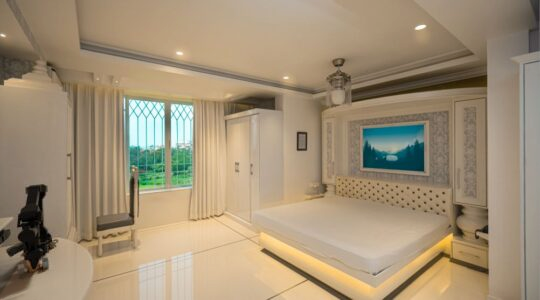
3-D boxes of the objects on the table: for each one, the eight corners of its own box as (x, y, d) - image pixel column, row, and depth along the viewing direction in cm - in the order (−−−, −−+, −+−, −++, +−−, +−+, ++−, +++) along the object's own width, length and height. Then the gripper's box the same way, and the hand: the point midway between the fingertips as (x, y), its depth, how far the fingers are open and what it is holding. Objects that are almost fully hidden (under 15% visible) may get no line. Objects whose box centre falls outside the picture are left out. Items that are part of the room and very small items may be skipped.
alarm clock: (21, 247, 141) (54, 234, 153) (24, 254, 142) (56, 241, 154) (26, 251, 134) (60, 237, 146) (29, 259, 135) (62, 245, 147)
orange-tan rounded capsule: (27, 270, 118) (26, 258, 117) (39, 266, 121) (38, 254, 120) (27, 273, 115) (26, 261, 114) (40, 269, 118) (39, 257, 117)
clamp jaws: (18, 272, 116) (17, 265, 116) (47, 263, 123) (47, 257, 123) (18, 276, 112) (18, 269, 112) (48, 267, 119) (48, 260, 119)
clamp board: (19, 271, 118) (18, 269, 118) (46, 263, 125) (46, 261, 125) (19, 281, 110) (19, 279, 110) (49, 272, 117) (49, 270, 117)
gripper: (7, 235, 117) (9, 267, 118) (6, 246, 105) (9, 281, 105) (38, 229, 126) (40, 258, 126) (41, 238, 113) (44, 271, 113)
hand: (33, 266), depth 118 cm, fingers open, 6 cm apart
